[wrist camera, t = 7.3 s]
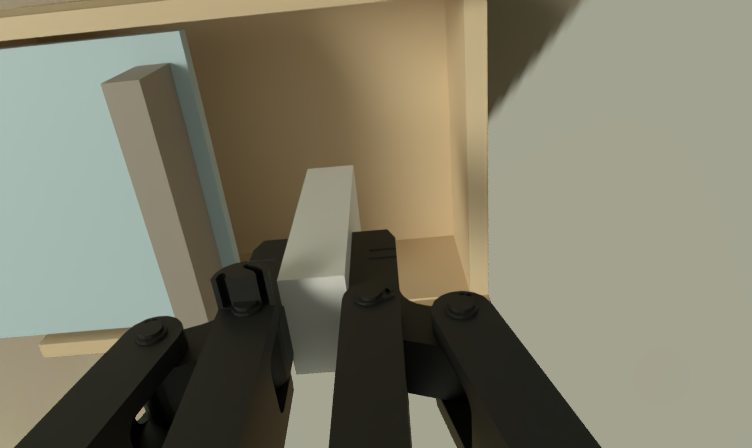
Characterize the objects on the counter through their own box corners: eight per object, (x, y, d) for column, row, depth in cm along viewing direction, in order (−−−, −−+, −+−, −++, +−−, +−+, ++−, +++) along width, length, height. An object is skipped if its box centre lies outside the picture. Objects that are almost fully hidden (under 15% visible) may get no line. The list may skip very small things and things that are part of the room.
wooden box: (18, 7, 25) (-110, 29, 18) (459, -39, 24) (492, -34, 18) (113, 270, 31) (44, 357, 25) (466, 239, 30) (492, 321, 24)
